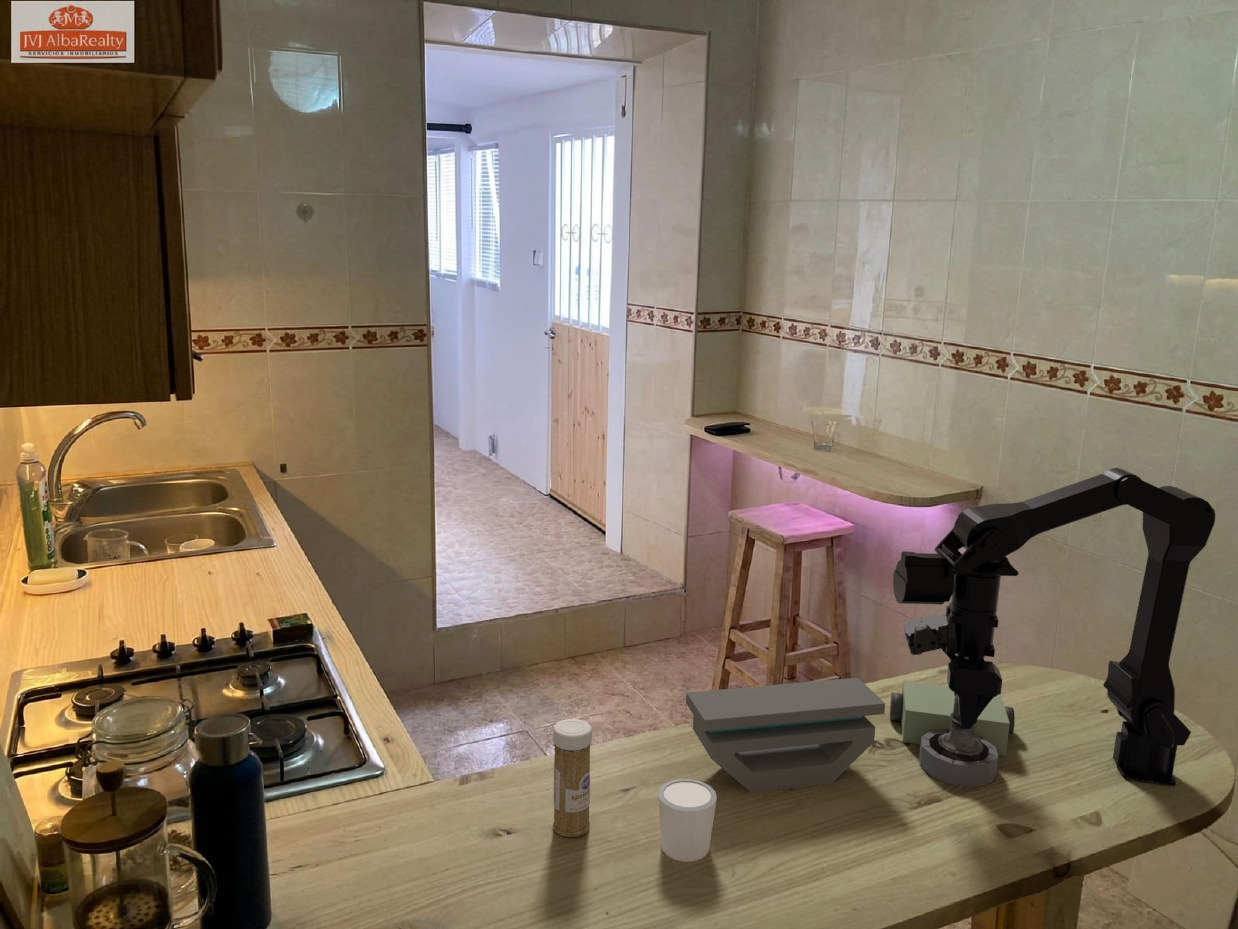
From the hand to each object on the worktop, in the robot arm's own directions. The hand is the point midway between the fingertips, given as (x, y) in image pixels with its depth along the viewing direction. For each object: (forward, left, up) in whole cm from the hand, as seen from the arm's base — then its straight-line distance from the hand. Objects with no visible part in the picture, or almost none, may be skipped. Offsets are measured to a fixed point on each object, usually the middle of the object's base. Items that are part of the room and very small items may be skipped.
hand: (961, 712), depth 131 cm
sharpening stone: (+23, +8, -8) cm, 26 cm away
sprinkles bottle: (+47, +28, -8) cm, 55 cm away
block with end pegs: (0, -5, -8) cm, 10 cm away
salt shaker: (0, 0, -8) cm, 8 cm away
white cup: (+33, +28, -8) cm, 44 cm away
